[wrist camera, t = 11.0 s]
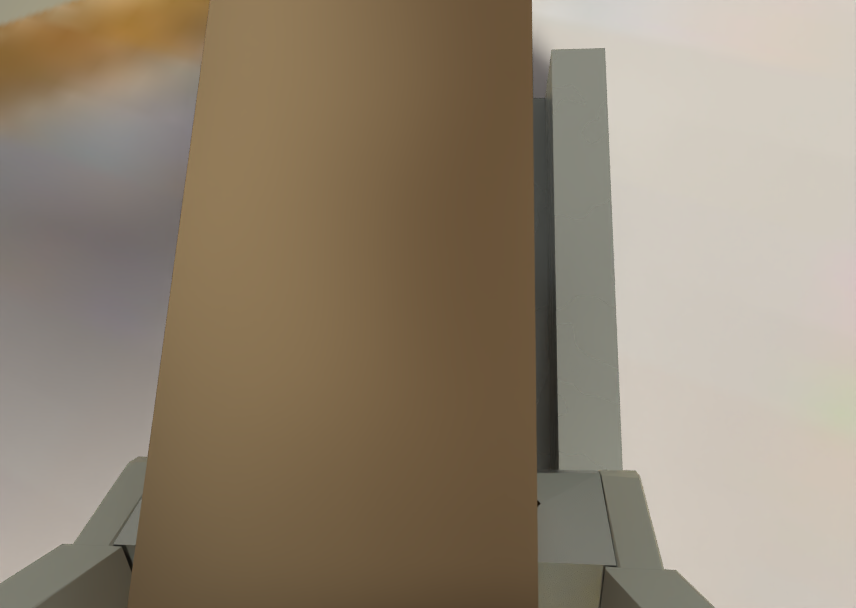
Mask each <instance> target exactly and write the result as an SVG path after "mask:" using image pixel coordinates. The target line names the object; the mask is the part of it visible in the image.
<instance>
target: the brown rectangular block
mask: <svg viewBox="0 0 856 608" xmlns="http://www.w3.org/2000/svg"><path fill="white" fill-rule="evenodd" d="M127 608H538V523H537V432H536V341H535V250H534V159H533V68H532V0H210V5H209V12H208V19H207V27H206V34H205V41H204V49H203V56H202V63H201V71H200V78H199V85H198V93H197V100H196V107H195V115H194V122H193V129H192V136H191V144H190V151H189V158H188V166H187V173H186V180H185V188H184V195H183V202H182V210H181V217H180V224H179V232H178V239H177V246H176V253H175V261H174V268H173V275H172V283H171V290H170V297H169V305H168V312H167V319H166V327H165V334H164V341H163V349H162V356H161V363H160V370H159V378H158V385H157V392H156V400H155V407H154V414H153V422H152V429H151V436H150V444H149V451H148V458H147V466H146V473H145V480H144V487H143V495H142V502H141V509H140V517H139V524H138V531H137V539H136V546H135V553H134V561H133V568H132V575H131V583H130V590H129V597H128V604H127Z"/></svg>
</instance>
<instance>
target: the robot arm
mask: <svg viewBox="0 0 856 608" xmlns="http://www.w3.org/2000/svg"><path fill="white" fill-rule="evenodd" d="M147 458H148V457H137V458H135V459H134V460H132V461H130V462H129V463H128V464H127V466H126V467H125V469H124V470H123V472H122V473H121V475H120V476H119V478H118V479H117V480H116V482H115V483H114V485H113V486H112V488H111V489H110V491H109V492H108V494H107V495H106V497H105V498H104V499H103V501H102V502H101V504H100V505H99V507H98V508H97V510H96V511H95V513H94V514H93V516H92V517H91V518H90V520H89V521H88V523H87V524H86V526H85V527H84V529H83V530H82V532H81V533H80V535H79V536H78V537H77V539H76V540H75V542H74V543H73V544H62V545H60V546H59V547H57V548H56V549H54V550H52V551H51V552H49V553H48V554H46V555H44V556H43V557H41V558H40V559H38V560H37V561H35V562H33V563H32V564H30V565H29V566H27V567H26V568H24V569H22V570H21V571H19V572H18V573H16V574H15V575H13V576H11V577H10V578H8V579H7V580H5V581H4V582H2V583H0V608H127V604H128V597H129V590H130V583H131V575H132V568H133V561H134V553H135V546H136V539H137V531H138V524H139V517H140V509H141V502H142V495H143V487H144V480H145V473H146V466H147ZM537 523H538V608H715V607H714V606H713V605H712V604H711V603H710V602H709V601H708V600H707V599H706V598H704V597H703V596H702V595H701V594H700V593H699V592H698V591H697V590H696V589H695V588H694V587H693V586H692V585H691V584H690V583H689V582H688V581H687V580H686V579H685V578H684V577H683V576H682V575H681V574H680V573H679V572H677V571H676V570H666V569H664V567H663V563H662V559H661V556H660V552H659V548H658V544H657V540H656V536H655V532H654V529H653V525H652V521H651V517H650V513H649V509H648V505H647V501H646V498H645V494H644V490H643V486H642V482H641V478H640V475H639V474H638V473H637V472H636V471H628V470H599V471H596V470H551V469H537Z"/></svg>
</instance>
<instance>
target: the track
mask: <svg viewBox="0 0 856 608" xmlns="http://www.w3.org/2000/svg"><path fill="white" fill-rule="evenodd" d="M533 159H534V250H535V341H536V432H537V469H551V470H596V471H599V470H623V468H622V444H621V420H620V396H619V372H618V348H617V325H616V301H615V277H614V253H613V229H612V205H611V181H610V157H609V133H608V109H607V85H606V61H605V48H595V49H560V50H551V57H550V65H549V72H548V80H547V87H546V94H545V98H534V99H533Z"/></svg>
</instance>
